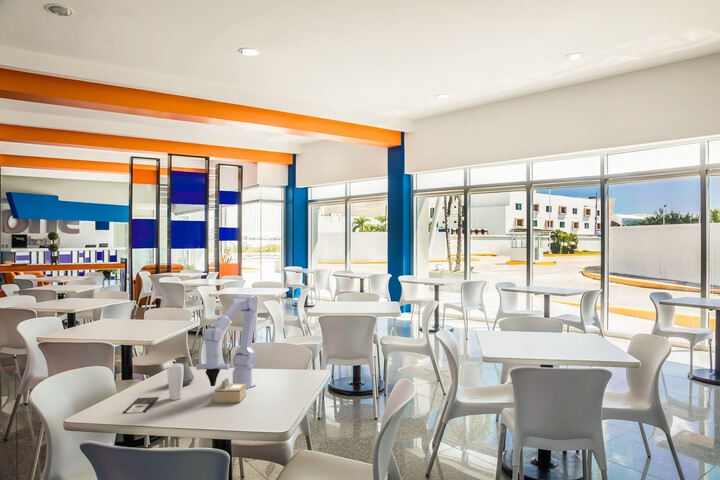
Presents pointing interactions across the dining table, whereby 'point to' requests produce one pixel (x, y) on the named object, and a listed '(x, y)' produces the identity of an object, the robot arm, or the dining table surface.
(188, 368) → the coffee pot
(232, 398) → the wooden box
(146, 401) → the chocolate bar
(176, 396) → the drinking glass
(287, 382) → the dining table surface
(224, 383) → the sliding lid
